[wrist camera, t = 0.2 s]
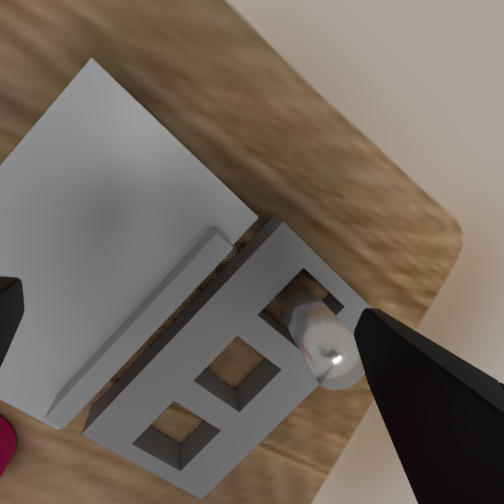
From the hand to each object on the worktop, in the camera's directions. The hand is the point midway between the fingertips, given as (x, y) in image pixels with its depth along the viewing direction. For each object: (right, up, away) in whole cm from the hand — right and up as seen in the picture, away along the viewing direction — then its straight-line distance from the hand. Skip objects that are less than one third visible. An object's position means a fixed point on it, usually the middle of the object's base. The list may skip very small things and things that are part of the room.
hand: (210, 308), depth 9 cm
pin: (+4, -2, +17) cm, 18 cm away
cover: (-9, +2, +13) cm, 17 cm away
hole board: (0, -7, +18) cm, 19 cm away
